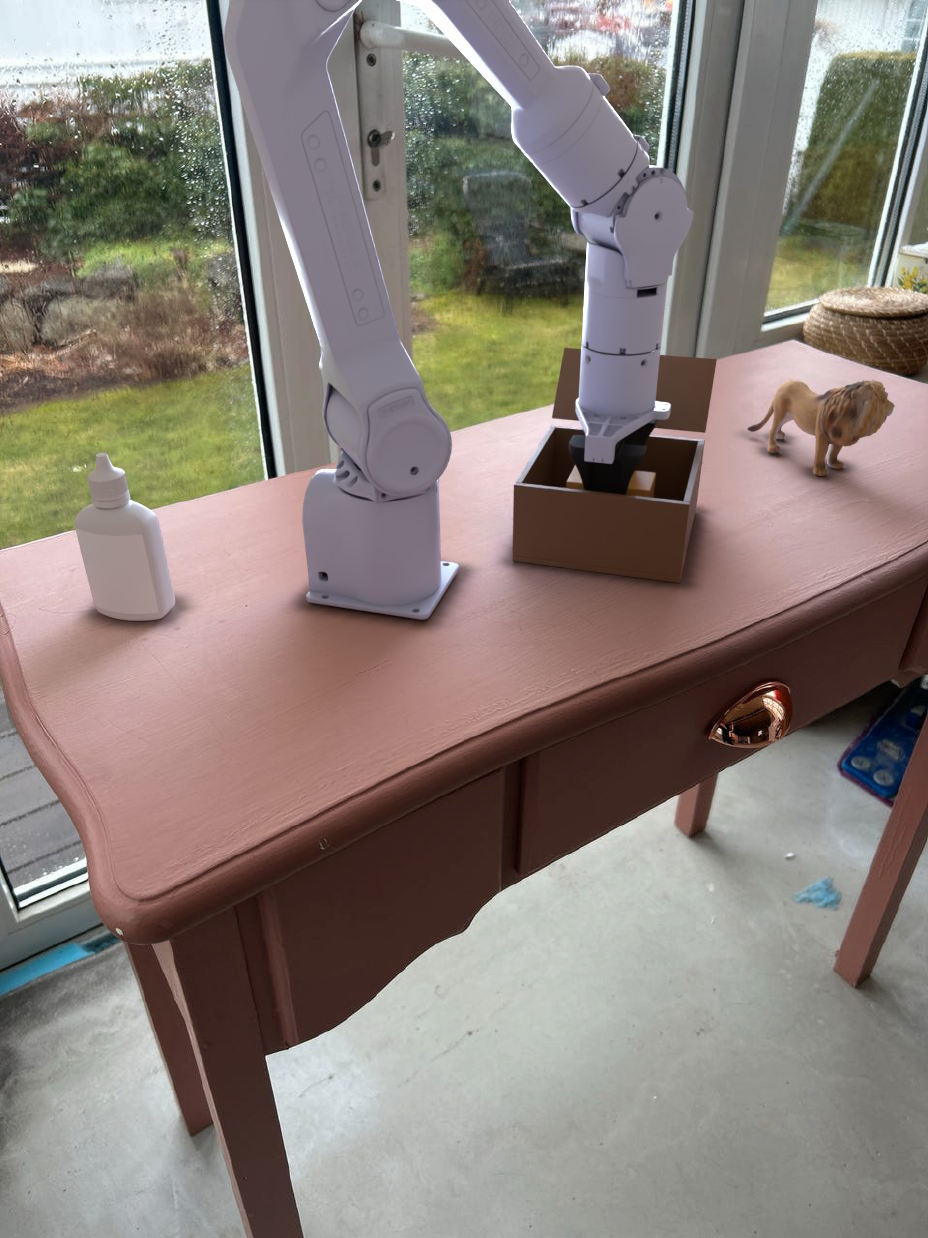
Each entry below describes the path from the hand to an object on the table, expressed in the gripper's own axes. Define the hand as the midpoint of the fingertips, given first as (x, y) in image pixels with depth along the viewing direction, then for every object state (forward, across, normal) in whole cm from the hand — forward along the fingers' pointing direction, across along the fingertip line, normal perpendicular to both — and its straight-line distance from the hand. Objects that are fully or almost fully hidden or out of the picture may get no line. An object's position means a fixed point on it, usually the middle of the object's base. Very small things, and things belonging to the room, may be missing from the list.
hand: (608, 513), depth 76 cm
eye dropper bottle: (+3, -20, +31) cm, 37 cm away
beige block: (+1, 0, 0) cm, 1 cm away
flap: (-7, +9, 0) cm, 12 cm away
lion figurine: (+3, +22, -16) cm, 27 cm away
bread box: (+2, +1, 0) cm, 3 cm away
